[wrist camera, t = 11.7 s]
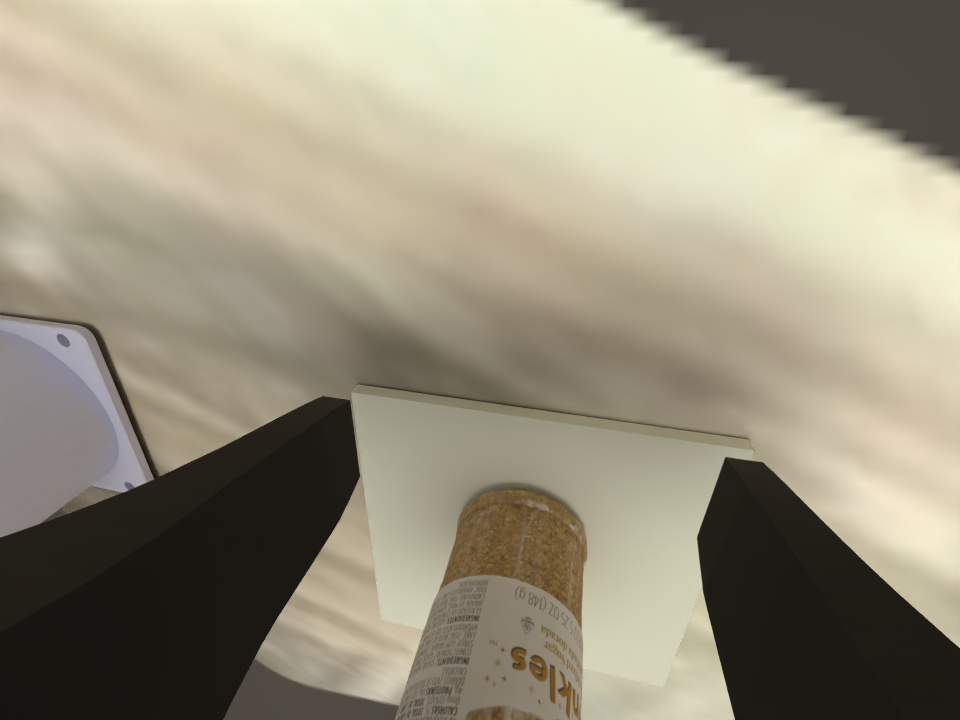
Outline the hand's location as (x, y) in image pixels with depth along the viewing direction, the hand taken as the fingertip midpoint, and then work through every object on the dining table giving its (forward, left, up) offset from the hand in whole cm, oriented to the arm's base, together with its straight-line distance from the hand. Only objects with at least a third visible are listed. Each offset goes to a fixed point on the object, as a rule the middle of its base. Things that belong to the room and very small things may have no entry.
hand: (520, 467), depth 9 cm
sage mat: (0, -8, -5) cm, 9 cm away
